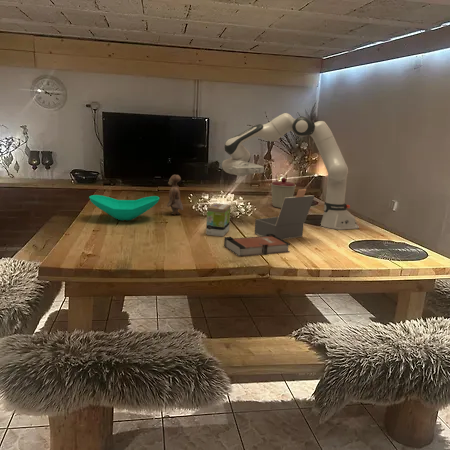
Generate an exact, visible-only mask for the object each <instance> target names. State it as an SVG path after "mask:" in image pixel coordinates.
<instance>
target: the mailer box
mask: <svg viewBox="0 0 450 450" xmlns="http://www.w3.org/2000/svg"><path fill="white" fill-rule="evenodd" d="M277 219H278V216H272V217H266V218H265V217H264V218H256V219H255V221H254V222H255V224H254V235H257V236H258V237H261V236H266V235H267V234H274V235H275V236H276V237H278V238H280V239H282V240H284V241H285V240H291V239H296V238H297V239H298V238H301V237H303V232H304V223H298V224H290V225H283V226H275V225H276V222H277Z"/></svg>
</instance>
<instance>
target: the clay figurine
mask: <svg viewBox="0 0 450 450" xmlns="http://www.w3.org/2000/svg"><path fill="white" fill-rule="evenodd" d="M181 180H182V178H181V176H180V175H179V174H172V175H171V176H170V178H169V179H168V182H167V184H168V185H169V186H171V188H169V193H168V198H169V200H168V203H166V207H168V208H169V207H170V208H171V211H172V212H171V214H178V215H180V212H179V210H182V211H183V210H184V206H183V203H182V200H181V192H180V187H179V185H178V183H179V182H180V181H181Z"/></svg>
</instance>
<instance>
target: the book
mask: <svg viewBox="0 0 450 450" xmlns="http://www.w3.org/2000/svg"><path fill="white" fill-rule="evenodd" d="M223 237H224V236H223ZM223 239H224V241H223V243H224V244H223V247H224V246H225V247H224V248H226V249H227V248H228V249H227V250H229V251H230V250H231V251H230V252H231V253H233V252H234V253H233V254H235V255H236V254H237V255H236V256H237V257H239V256H241V257H251V256H258V255H259V256H261V255H271V254H273V255H274V254H281V253H282V254H283V253H290V250H289V246H290V245H291V243H290V242H287V241H285V239H284V240H282V239H280V238H278V237H276V236H275V235H274V234H267V235H266V236H250V237H249V236H247V237H237V238H233V237H231V236H227V237H224V238H223Z"/></svg>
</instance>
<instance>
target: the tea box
mask: <svg viewBox="0 0 450 450" xmlns="http://www.w3.org/2000/svg"><path fill="white" fill-rule="evenodd" d="M231 207H232V206H231V204H227V203H216V202H215V203H212V204H210V206H209V205H208V207H206V208H207V209H206V210H207V211H206V227H205V228H206V229H205V235H206V234H207V236H213V237H214V236H216V237H224V236H225V235H226V234H227V233H228V232H229V231H230V223H231Z"/></svg>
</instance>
